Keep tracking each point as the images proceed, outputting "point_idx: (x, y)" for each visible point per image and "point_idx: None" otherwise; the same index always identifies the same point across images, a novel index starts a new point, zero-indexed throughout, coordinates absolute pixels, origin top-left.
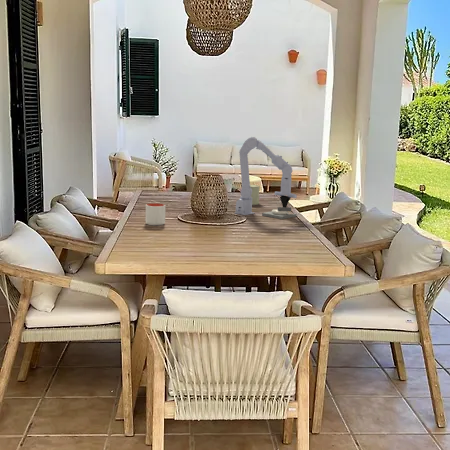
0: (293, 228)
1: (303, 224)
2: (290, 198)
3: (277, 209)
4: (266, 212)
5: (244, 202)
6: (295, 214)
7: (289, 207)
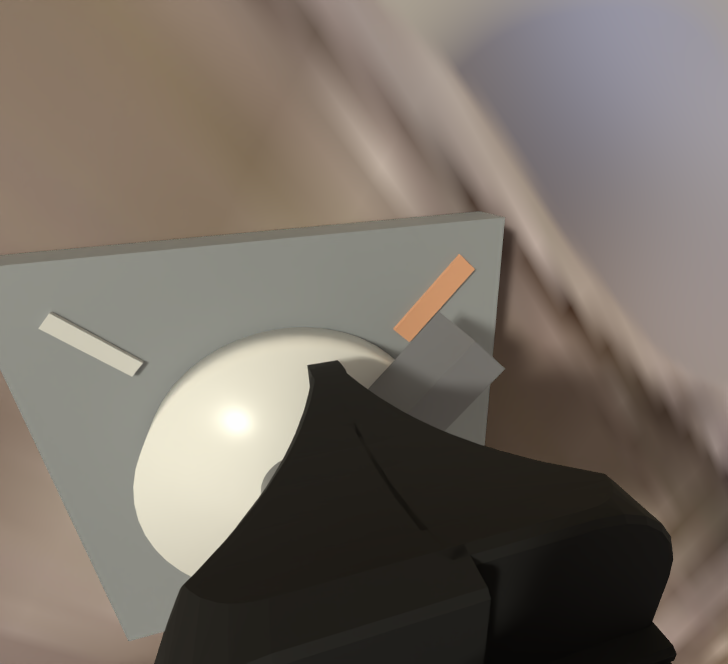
0: (699, 613)
1: (721, 482)
2: (602, 481)
3: (159, 442)
4: (117, 579)
5: None
6: (498, 249)
7: (455, 373)
